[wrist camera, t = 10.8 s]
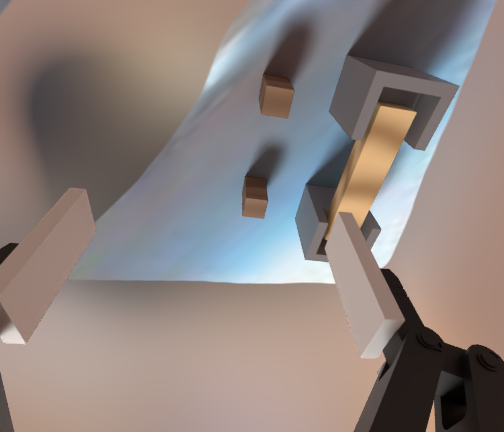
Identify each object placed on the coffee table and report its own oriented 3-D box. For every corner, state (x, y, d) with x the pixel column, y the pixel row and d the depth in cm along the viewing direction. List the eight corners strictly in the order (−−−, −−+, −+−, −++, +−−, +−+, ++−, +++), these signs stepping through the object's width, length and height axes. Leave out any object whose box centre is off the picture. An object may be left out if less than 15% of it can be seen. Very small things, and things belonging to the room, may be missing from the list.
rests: (263, 73, 36) (266, 85, 31) (287, 78, 36) (294, 90, 31) (242, 193, 45) (242, 216, 40) (261, 195, 46) (263, 218, 41)
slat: (371, 99, 32) (380, 105, 30) (406, 105, 32) (416, 112, 30) (321, 228, 42) (325, 239, 40) (347, 231, 43) (353, 243, 41)
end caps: (346, 54, 35) (377, 70, 27) (412, 67, 36) (459, 86, 28) (294, 218, 49) (305, 259, 41) (343, 224, 50) (361, 265, 42)
